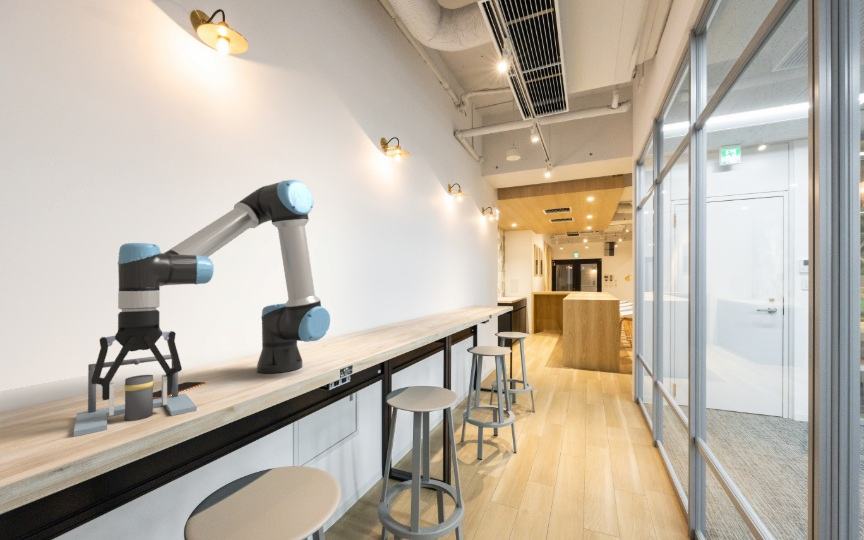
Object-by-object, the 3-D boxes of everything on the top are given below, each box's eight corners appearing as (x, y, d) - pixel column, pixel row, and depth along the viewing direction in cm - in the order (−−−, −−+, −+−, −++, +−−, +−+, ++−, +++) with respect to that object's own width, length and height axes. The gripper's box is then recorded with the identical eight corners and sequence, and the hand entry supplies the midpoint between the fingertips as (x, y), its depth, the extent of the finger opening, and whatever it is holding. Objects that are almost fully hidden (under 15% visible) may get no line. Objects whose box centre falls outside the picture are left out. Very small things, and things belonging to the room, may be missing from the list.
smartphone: (207, 384, 114) (207, 381, 114) (162, 400, 98) (162, 397, 98) (184, 384, 115) (185, 381, 115) (136, 400, 99) (136, 397, 99)
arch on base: (185, 397, 99) (185, 352, 100) (196, 410, 87) (196, 359, 88) (77, 417, 85) (77, 364, 86) (73, 436, 73) (74, 375, 74)
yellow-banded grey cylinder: (154, 416, 84) (154, 377, 84) (124, 422, 80) (125, 381, 81) (152, 411, 88) (152, 373, 88) (123, 417, 84) (124, 377, 85)
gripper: (191, 306, 95) (191, 394, 94) (75, 312, 81) (74, 416, 79) (196, 307, 89) (197, 401, 88) (73, 313, 75) (72, 425, 74)
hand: (138, 408), depth 84 cm, fingers open, 9 cm apart
